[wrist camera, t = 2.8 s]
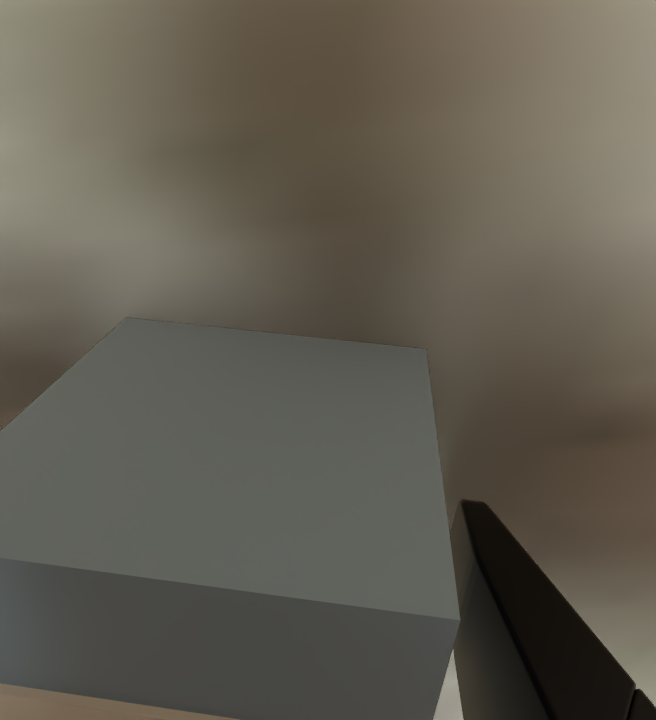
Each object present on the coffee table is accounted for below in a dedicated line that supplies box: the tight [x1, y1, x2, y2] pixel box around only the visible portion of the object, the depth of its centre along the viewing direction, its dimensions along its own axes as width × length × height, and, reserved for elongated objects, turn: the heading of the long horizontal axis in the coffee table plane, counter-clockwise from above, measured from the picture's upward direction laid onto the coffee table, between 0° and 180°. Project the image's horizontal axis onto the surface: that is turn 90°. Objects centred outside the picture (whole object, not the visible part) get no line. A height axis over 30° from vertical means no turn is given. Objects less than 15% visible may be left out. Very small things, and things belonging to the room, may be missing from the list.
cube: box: [0, 318, 460, 720], centre depth 8 cm, size 5×5×5 cm
